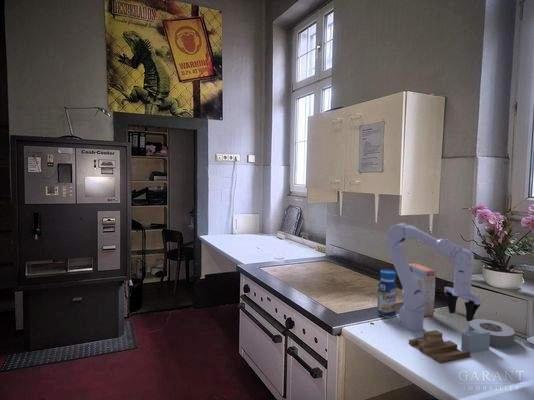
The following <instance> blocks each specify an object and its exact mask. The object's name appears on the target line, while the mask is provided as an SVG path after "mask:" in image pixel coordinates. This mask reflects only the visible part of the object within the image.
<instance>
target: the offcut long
mask: <svg viewBox="0 0 534 400" xmlns="http://www.w3.org/2000/svg"><path fill="white" fill-rule="evenodd" d="M443 341H444V339H443V338H442V340H439V341H433V342H428V341H427V340H425V339H418V345H419V346H424V345H429V344H434V343H439V342H443Z"/></svg>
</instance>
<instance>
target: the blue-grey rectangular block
mask: <svg viewBox="0 0 534 400" xmlns="http://www.w3.org/2000/svg"><path fill="white" fill-rule="evenodd" d="M489 342H490V332H489V331H486V330H484V329H478V330H473V331H468V330H467V331H464V332H461V348H460V351H464V350H468V351H470V354H474V353H480V352H484V351H488V350H490V346H489Z"/></svg>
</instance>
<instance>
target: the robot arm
mask: <svg viewBox="0 0 534 400" xmlns="http://www.w3.org/2000/svg"><path fill="white" fill-rule="evenodd" d="M386 235H387V238H386V249H387V251H388V253H389V256H390V258H391V261H392V263H393V267H394V269H395V272H396V275H397V277H398V279H399V281H400V284H401V286H402V291H401V295H402V299H403V300H402V303H403V304H402V305H401V306H400V309H399V311H398V324H399V325H400V326H402V327H403V328H405V329H406V330H408V331H411V332H422V331H424V322H425V321H424V318H425V316H424V307H423V304H425V302H426V295H425V294H424V293H423V292H422V291H421V289H420V287H419V286H418V285H417V284H416V283H415V281H414V278H413V276H412V273H411V271H410V268H409V266H408V264H409V263H408V261H407V259H406V256H405V254H404V251H403V248H402V246H403V244H404V242H405V240H406V239H415V240H418V241H420V242H422V243H425V244H426V245H429V246H431V247H433V249H434V251H435V253H438V254H440V255H442V256H444V257H446V258H448V259H450V260H452V262H453V263H454V269H453V270H454V272H453V273H454V274H453V287H450V286H444V290H443V292H444V293H445V294H443V297H444V300H445V301H446V304H447V308H448V311H449V314H456V309H457V302H458V301H457V300H458V299H459V298H460V299H463V300H465V301H466V302H464V304H463V305H465V314H466V315H465V316H466V317H465V320H466V321H467V322H470V321H472V320H474V316H475V314H476V312H477V310H478V309H479V308H480V307H481V304H482V298H480V297H478V296H476V295H474V294H473V293H472V279H473V278H472V274H473V270H472V269H473V263H472V262H473V261H474V259H475V255H474V252H473V251H472V250H470V249H469V248H468V247H467V248H466V247H463V246H462V245H457V244H454V243H453V242H451V240H450V239H448V238H440V239H438V238H436V237H434V236H432V235H430V234H429V233H426V232H425V231H423V230H421V229H419V228H418V227H415V226H414V225H412V224H409V223H407V222H401V223H397V224H392V225H391V226H390V227H389V228H388V230H387V231H386Z"/></svg>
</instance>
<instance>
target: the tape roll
mask: <svg viewBox="0 0 534 400" xmlns="http://www.w3.org/2000/svg"><path fill="white" fill-rule="evenodd" d="M478 329H484V330H486V331H489V332H490V342H489V348H495V349H511V348H513V347H514V346H515V337H516V332H515V330H514V329H513V328H512V327H511V326H508V325H507V324H505V323H503V322H500V321H496V320H491V319H486V318H485V319H484V318H483V319H482V318H475V319H474V318H473V320H472V321H468V330H467V332H468V331H473V330H478Z"/></svg>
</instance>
